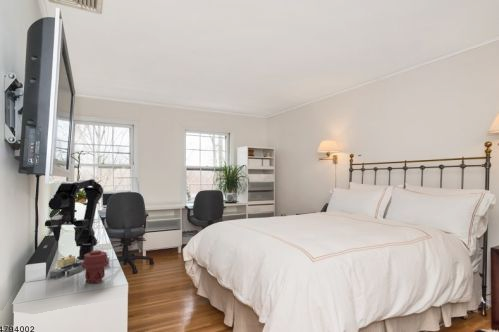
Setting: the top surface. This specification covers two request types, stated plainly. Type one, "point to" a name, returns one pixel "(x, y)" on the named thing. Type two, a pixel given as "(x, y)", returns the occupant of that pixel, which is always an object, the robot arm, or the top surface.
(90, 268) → the mechanical component
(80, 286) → the top surface
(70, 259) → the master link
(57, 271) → the studded rectangular link
